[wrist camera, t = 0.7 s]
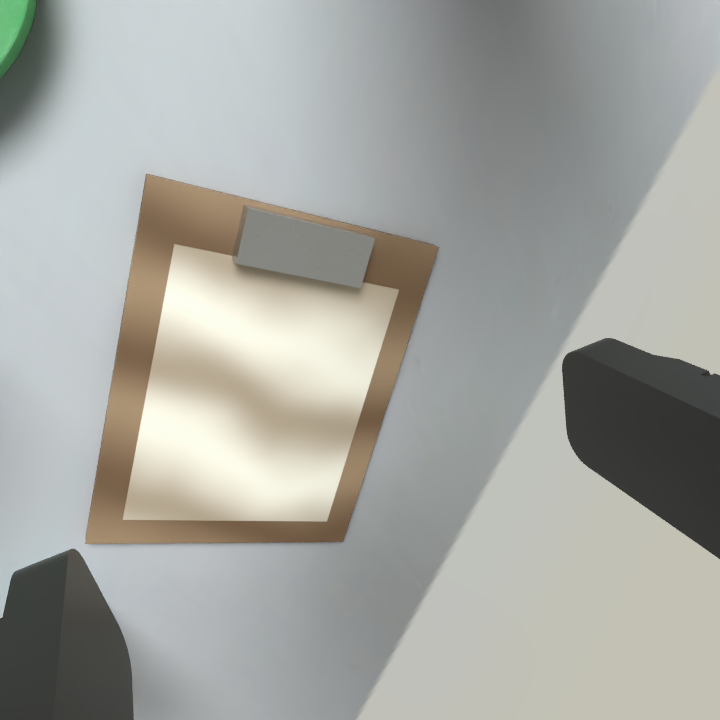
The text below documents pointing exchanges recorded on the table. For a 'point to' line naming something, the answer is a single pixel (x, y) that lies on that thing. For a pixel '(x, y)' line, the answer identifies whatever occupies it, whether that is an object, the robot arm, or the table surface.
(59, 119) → the table surface
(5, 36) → the tape roll
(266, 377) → the clipboard
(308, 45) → the table surface
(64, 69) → the table surface
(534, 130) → the table surface
